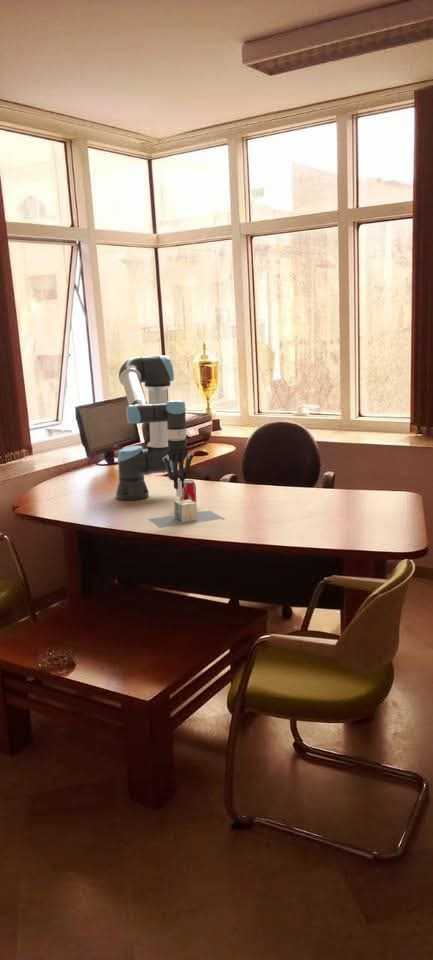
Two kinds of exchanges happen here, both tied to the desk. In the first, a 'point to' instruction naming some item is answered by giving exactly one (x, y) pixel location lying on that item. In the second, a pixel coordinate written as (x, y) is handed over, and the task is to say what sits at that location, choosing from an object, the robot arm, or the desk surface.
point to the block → (185, 510)
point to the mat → (173, 521)
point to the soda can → (189, 491)
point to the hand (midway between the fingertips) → (179, 496)
